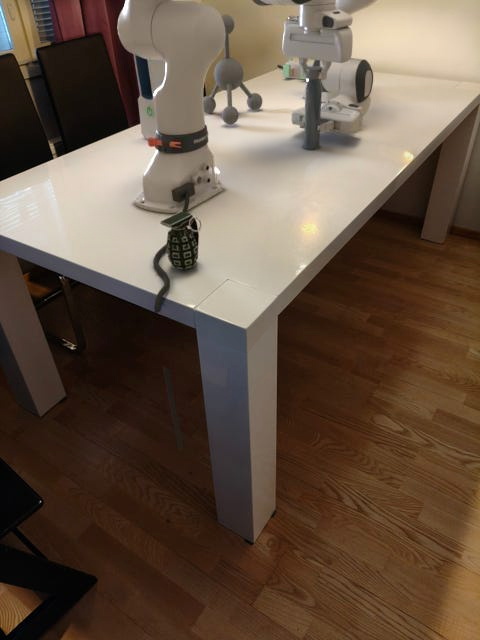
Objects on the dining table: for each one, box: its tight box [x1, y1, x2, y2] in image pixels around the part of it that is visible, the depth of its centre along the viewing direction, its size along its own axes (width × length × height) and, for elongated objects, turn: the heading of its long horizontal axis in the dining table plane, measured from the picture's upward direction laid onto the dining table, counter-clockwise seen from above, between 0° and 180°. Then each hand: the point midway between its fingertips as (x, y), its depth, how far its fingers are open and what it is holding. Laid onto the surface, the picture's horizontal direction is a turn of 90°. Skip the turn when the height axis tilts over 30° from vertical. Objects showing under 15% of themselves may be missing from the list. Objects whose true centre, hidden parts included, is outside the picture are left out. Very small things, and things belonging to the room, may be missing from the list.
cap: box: [306, 66, 323, 79], centre depth 128 cm, size 4×4×2 cm
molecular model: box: [203, 13, 263, 125], centre depth 160 cm, size 24×22×30 cm
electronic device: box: [133, 54, 166, 140], centre depth 143 cm, size 12×8×30 cm, turn 47°
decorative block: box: [282, 58, 314, 80], centre depth 211 cm, size 26×6×20 cm
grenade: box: [159, 211, 202, 271], centre depth 88 cm, size 7×6×10 cm
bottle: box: [303, 79, 322, 151], centre depth 134 cm, size 4×4×20 cm
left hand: (314, 78), depth 129 cm, fingers closed on cap, 4 cm apart
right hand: (310, 127), depth 136 cm, fingers closed on bottle, 4 cm apart
